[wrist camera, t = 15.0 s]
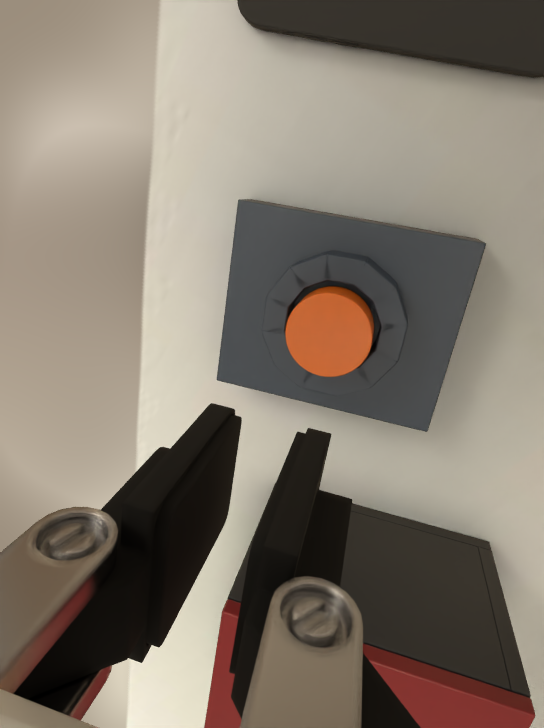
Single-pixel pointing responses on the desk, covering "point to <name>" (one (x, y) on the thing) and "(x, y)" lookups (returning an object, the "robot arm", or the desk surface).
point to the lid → (405, 678)
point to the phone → (418, 28)
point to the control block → (365, 278)
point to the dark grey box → (427, 597)
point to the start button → (330, 331)
